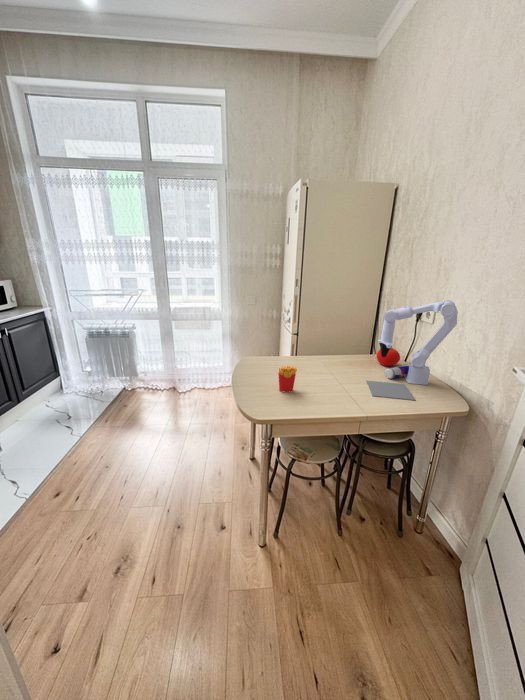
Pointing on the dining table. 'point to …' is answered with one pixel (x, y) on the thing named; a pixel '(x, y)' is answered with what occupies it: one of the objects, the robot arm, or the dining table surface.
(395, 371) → the beverage can
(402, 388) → the mat
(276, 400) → the dining table surface
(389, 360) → the tomato
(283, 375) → the french fries
